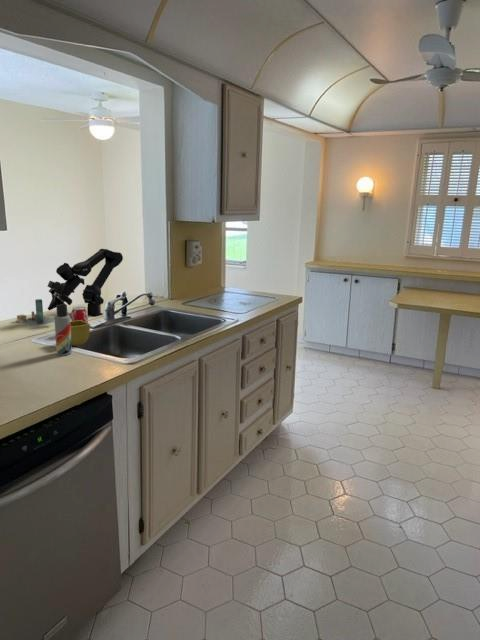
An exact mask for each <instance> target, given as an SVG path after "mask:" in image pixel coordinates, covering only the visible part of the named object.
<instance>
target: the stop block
mask: <svg viewBox="0 0 480 640" xmlns="http://www.w3.org/2000/svg"><path fill="white" fill-rule="evenodd" d="M16 318H17V319H16V323H18V322H21V323H20V324H23V323H22V322H26V321H27V319H28V317H27V315H25V314H18V315H16Z"/></svg>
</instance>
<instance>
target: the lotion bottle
mask: <svg viewBox="0 0 480 640" xmlns="http://www.w3.org/2000/svg"><path fill="white" fill-rule="evenodd" d="M55 309H56V315H55V316H54V319H55V322H54V331H55V332H54V333H55V348H56V350H55V351H56V354H57V356H60V357H62V356H69V355H71V354H72V353H73V347H72V346H73V345H72V342H71V323H70V322H71V315H69V314H68V304H67V303H65V304H62V305H56V308H55Z"/></svg>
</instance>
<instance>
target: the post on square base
mask: <svg viewBox="0 0 480 640" xmlns="http://www.w3.org/2000/svg"><path fill="white" fill-rule="evenodd" d="M33 314H35V311H31V317H27V319H28V320H35V319H33V316H32V315H33Z"/></svg>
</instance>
